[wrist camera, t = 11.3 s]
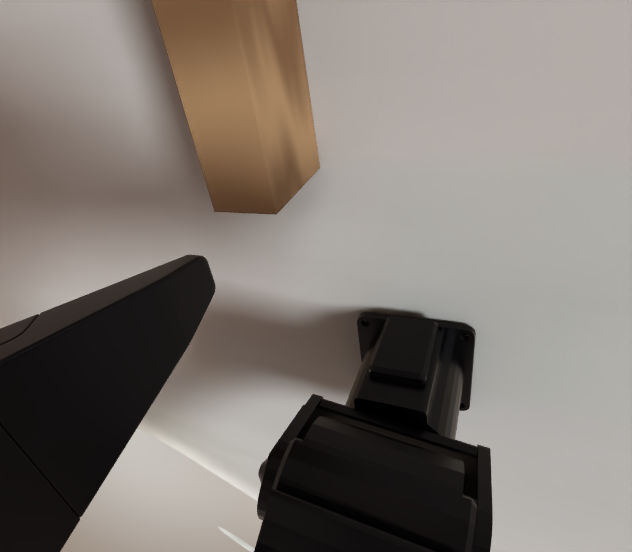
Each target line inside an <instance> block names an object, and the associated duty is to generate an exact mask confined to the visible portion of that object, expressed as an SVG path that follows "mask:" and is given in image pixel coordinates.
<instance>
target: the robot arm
mask: <svg viewBox="0 0 632 552" xmlns="http://www.w3.org/2000/svg"><path fill="white" fill-rule="evenodd" d="M214 293H215V282H214V279H213V276H212V273H211V270H210V267H209V264H208V261H207V260H206V258H205V257H203V256H199V255H186V256H183V257H181V258H178V259H176V260H173V261H171V262H168V263H166V264H163V265H161V266H158V267H156V268H153V269H151V270H148V271H146V272H143V273H140V274H138V275H135V276H133V277H130V278H128V279H125V280H123V281H120V282H118V283H115V284H113V285H110V286H108V287H105V288H103V289H100V290H97V291H95V292H92V293H90V294H87V295H85V296H82V297H80V298H77V299H75V300H72V301H70V302H67V303H65V304H62V305H60V306H57V307H54V308H52V309H49V310H47V311H44V312H42V313H41V314H40V315H38V314H37V315H34V316H32V317H29V318H27V319H24V320H21V321H19V322H16V323H14V324H11V325H8V326H6V327H3V328H1V329H0V552H60V551H61V549H62V548H63V546H64V544H65V543H66V541H67V540H68V538H69V536H70V535H71V533H72V532H73V530H74V529H75V527H76V525H77V524H78V522H79V521H80V517H81V516H82V515H83V514H84V512H85V510H86V509H87V507H88V506H89V504H90V502H91V501H92V499H93V498H94V496H95V494H96V493H97V491H98V490H99V488H100V486H101V485H102V483H103V482H104V480H105V478H106V477H107V475H108V474H109V472H110V470H111V469H112V467H113V466H114V464H115V462H116V461H117V459H118V457H119V456H120V454H121V453H122V451H123V450H124V448H125V446H126V445H127V443H128V442H129V440H130V438H131V437H132V435H133V434H134V432H135V430H136V429H137V427H138V426H139V424H140V422H141V421H142V419H143V418H144V416H145V414H146V413H147V411H148V410H149V408H150V406H151V405H152V403H153V402H154V400H155V398H156V397H157V395H158V394H159V392H160V390H161V389H162V387H163V386H164V384H165V382H166V381H167V379H168V378H169V376H170V374H171V373H172V371H173V370H174V368H175V366H176V365H177V363H178V362H179V360H180V358H181V357H182V355H183V354H184V352H185V350H186V349H187V347H188V345H189V343H190V342H191V340H192V338H193V336H194V334H195V332H196V330H197V328H198V326H199V324H200V322H201V320H202V318H203V316H204V314H205V312H206V309H207V307H208V305H209V303H210V301H211V299H212V297H213V295H214ZM364 320H367V321H368V322H366V321H364ZM357 325H358V334H359V342H360V351H361V359H362V365H361V367H360V370H359V372H358V375H357V377H356V380H355V382H354V385H353V387H352V390H351V392H350V395H349V397H348V400H347V402H346V405H341V404H338V403H335V402H332V401H329V400H325V399H323V397H322V396H318V395H315V394H312V396H311V397H310V399H309V400H308V402H307V403H306V404H305V405H303V406H302V408H301V409H300V411H299V412H298V413H297V415H296V416H295V418H294V419H293V421H292V422H291V423H290V425H289V426H288V428H287V429H286V430H285V432H284V433H283V435H282V436H281V438H280V439H279V440H278V442H277V443H276V445H275V446H274V448H273V449H272V450H271V452H270V454H269V456H268V458H267V459H266V460H265V461H264V462H263V463H262V465H261V467H260V469H259V474H258V475H259V478H260V481H261V488H260V492H259V497H258V505H257V512H258V513H257V514H258V517H259V519H261V520H263V522H262V526H261V530H260V533H259V536H258V540H257V543H256V547H255V550H254V552H490V547H491V538H492V487H491V457H490V448H487V447H484V446H481V445H477V446H474V445H471V444H467V443H464V442H461V441H458V440H455V435H456V429H457V422H458V415H459V410H460V411H465V410H468V409H469V407H470V397H471V384H472V372H473V359H474V347H475V335H476V333H475V330H474V329H473V328H472V327H471V326H468V325H462V324H454V323H447V322H439V321H431V320H423V319H416V318H408V317H400V316H392V315H384V314H377V313H369V312H363V313H361V314H360V315H359V317H358V320H357ZM463 333H466V334H468V336H465V335H463ZM461 402H462V403H461Z"/></svg>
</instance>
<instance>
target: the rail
mask: <svg viewBox="0 0 632 552" xmlns="http://www.w3.org/2000/svg"><path fill="white" fill-rule="evenodd" d="M151 1H152V4H153V7H154V11H155V14H156V17H157V21H158V24H159V27H160V31H161V34H162V37H163V41H164V44H165V47H166V51H167V54H168V57H169V61H170V64H171V67H172V71H173V74H174V77H175V81H176V84H177V87H178V91H179V94H180V98H181V101H182V104H183V108H184V111H185V114H186V118H187V121H188V124H189V128H190V131H191V134H192V138H193V141H194V144H195V148H196V151H197V154H198V158H199V161H200V164H201V168H202V171H203V174H204V178H205V181H206V184H207V188H208V191H209V194H210V198H211V201H212V205H213V208H214V211H215V212H234V213H257V214H277V213H278V212H279V211H280V210H281V209H282V208H283V207H284V206H285V205H286V204H287V203H288V202H289V200H290V199H291V198H292V197H293V196H294V195H295V194H296V193H297V192H298V191H299V190H300V189H301V188H302V186H303V185H304V184H305V183H306V182H307V181H308V180H309V179H310V178H311V177H312V176H313V175H314V174H315V173H316V171H317V170H318V169H319V168H320V164H319V157H318V150H317V143H316V136H315V129H314V122H313V115H312V108H311V101H310V94H309V87H308V80H307V73H306V66H305V59H304V52H303V45H302V38H301V31H300V24H299V17H298V10H297V3H296V0H151Z"/></svg>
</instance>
